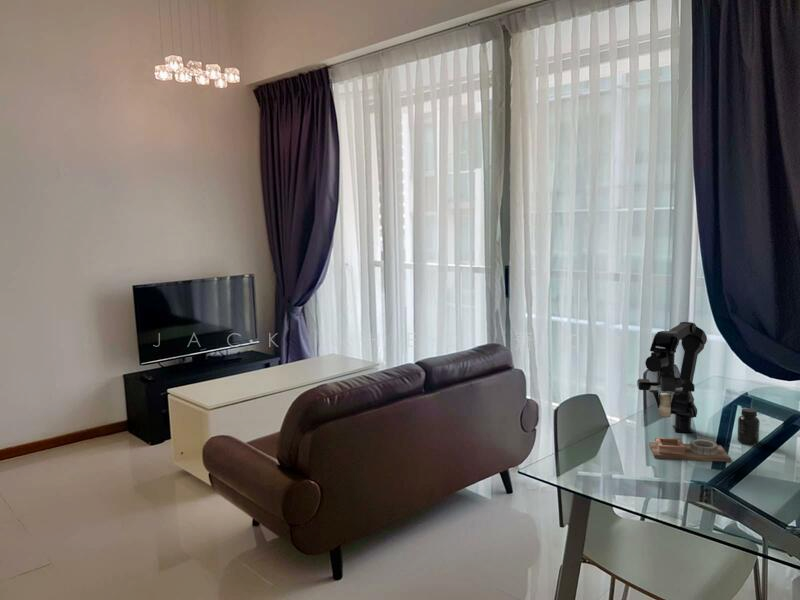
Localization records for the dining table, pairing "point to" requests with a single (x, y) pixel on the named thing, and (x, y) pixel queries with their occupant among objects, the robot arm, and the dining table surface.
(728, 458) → the socket board
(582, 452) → the dining table surface
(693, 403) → the robot arm
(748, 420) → the supplement bottle
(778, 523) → the dining table surface
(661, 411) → the round peg
